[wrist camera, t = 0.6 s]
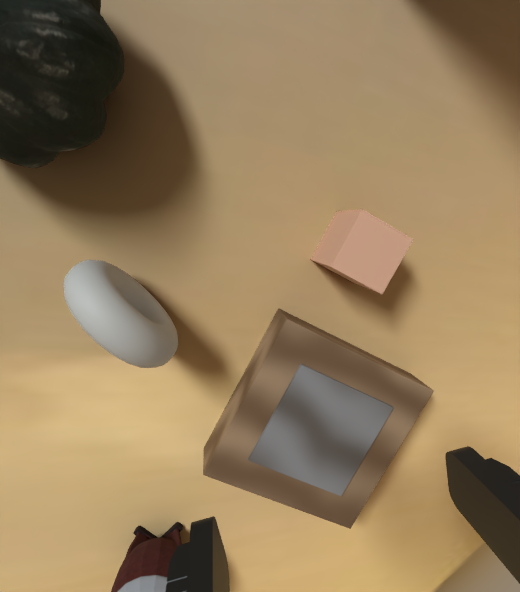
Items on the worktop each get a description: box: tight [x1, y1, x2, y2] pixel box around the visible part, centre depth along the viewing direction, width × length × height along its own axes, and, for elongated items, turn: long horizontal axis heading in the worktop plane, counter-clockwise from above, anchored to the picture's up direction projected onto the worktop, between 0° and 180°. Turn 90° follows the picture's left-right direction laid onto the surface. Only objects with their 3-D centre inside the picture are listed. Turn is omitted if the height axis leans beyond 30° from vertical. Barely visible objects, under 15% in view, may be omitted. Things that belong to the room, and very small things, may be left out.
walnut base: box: [203, 309, 433, 528], centre depth 36 cm, size 16×16×4 cm
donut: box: [64, 260, 178, 368], centre depth 28 cm, size 10×4×10 cm, turn 42°
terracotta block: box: [311, 209, 414, 294], centre depth 32 cm, size 5×5×6 cm
